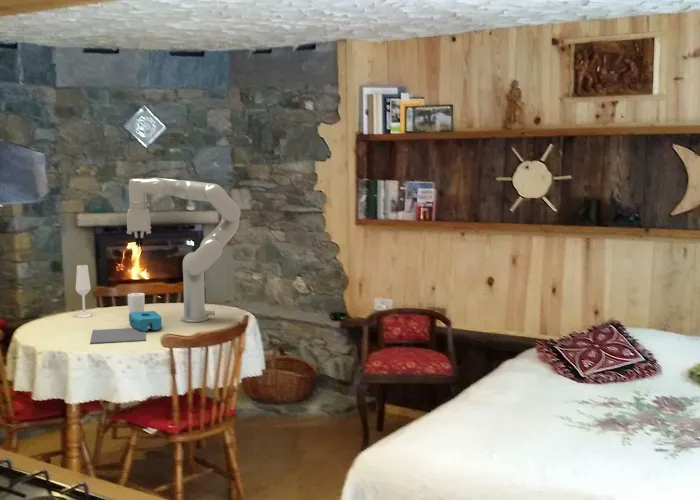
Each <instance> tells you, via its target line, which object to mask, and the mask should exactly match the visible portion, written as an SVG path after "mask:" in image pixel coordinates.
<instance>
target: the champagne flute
mask: <svg viewBox="0 0 700 500" xmlns="http://www.w3.org/2000/svg"><path fill="white" fill-rule="evenodd" d="M75 277H76V278H75V291H76V292H77V293H78V294H79V295H80V296H82V298H81V299H82V300H81V301H82V302H81V303H82V305H81V306H82V312H80V313H79V314H77V315H76V317H77V318H87V317H91V316H92V314H91V313H90V312H88V311H86V295H87V294H89V292H90V291H91V288H92V287H91V281H90V279H91V278H90V272H89V266H88V265H87V264H79V265H76V276H75Z"/></svg>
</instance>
